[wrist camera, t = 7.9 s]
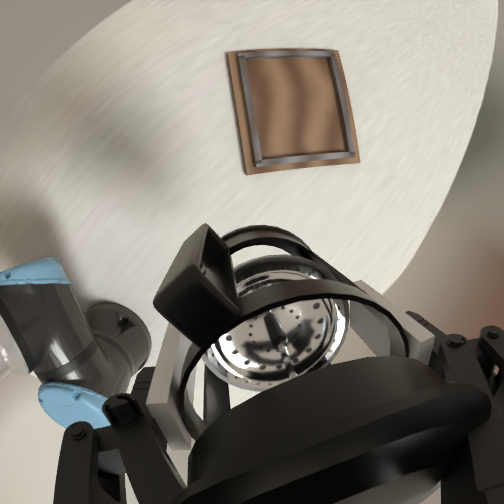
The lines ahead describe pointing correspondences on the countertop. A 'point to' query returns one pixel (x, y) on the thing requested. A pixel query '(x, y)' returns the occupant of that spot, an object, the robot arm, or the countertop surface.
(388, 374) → the french press
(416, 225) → the countertop surface
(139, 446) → the robot arm
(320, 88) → the serving board
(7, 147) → the countertop surface
